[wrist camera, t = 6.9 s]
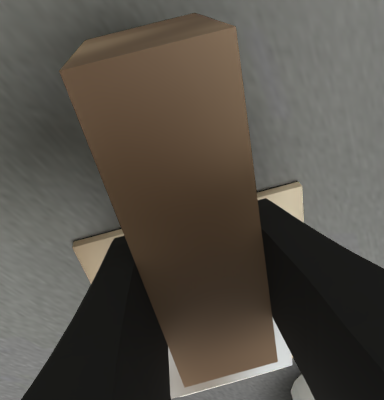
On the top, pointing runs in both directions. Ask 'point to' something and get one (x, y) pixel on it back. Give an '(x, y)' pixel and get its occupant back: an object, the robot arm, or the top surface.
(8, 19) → the top surface
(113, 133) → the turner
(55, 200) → the top surface
